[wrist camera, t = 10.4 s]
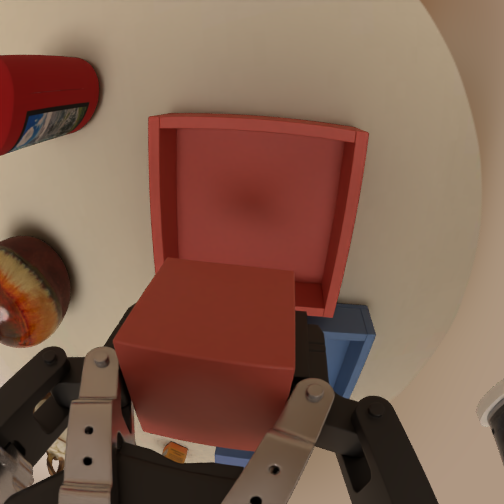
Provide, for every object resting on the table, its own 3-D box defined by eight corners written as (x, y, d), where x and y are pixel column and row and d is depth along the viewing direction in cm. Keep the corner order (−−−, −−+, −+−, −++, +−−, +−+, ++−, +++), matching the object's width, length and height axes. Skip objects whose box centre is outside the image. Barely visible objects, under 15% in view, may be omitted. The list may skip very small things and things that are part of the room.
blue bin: (367, 305, 27) (376, 334, 24) (334, 397, 34) (336, 425, 30) (217, 290, 28) (207, 318, 25) (217, 386, 34) (211, 414, 31)
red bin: (355, 127, 21) (369, 132, 17) (328, 288, 27) (332, 318, 23) (170, 113, 22) (147, 116, 18) (173, 271, 28) (157, 297, 24)
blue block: (257, 429, 38) (254, 460, 34) (255, 445, 40) (251, 473, 36) (220, 424, 38) (214, 454, 34) (221, 440, 41) (215, 468, 36)
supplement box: (189, 448, 43) (175, 500, 34) (181, 453, 45) (167, 502, 36) (171, 440, 43) (154, 492, 34) (163, 446, 44) (148, 495, 35)
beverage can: (48, 137, 23) (-54, 174, 12) (45, 67, 20) (-60, 77, 9) (106, 127, 22) (-2, 161, 12) (104, 49, 19) (-6, 39, 9)
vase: (88, 252, 28) (-14, 358, 14) (77, 325, 33) (10, 422, 19) (13, 208, 27) (-91, 279, 13) (12, 283, 32) (-63, 358, 18)
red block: (294, 270, 12) (295, 368, 8) (279, 361, 14) (273, 454, 10) (167, 256, 12) (111, 340, 8) (176, 347, 15) (142, 431, 10)
